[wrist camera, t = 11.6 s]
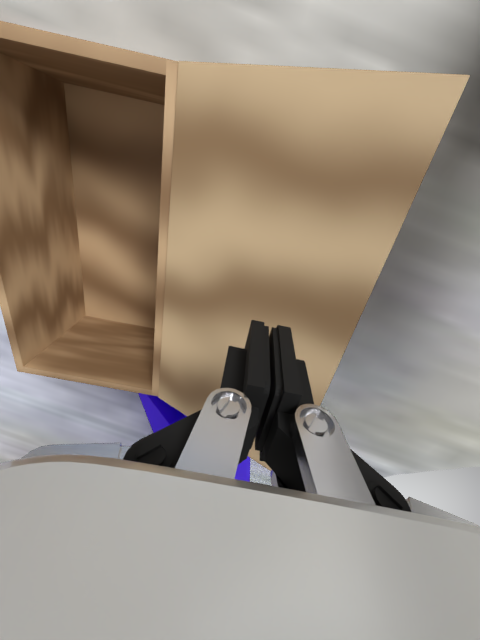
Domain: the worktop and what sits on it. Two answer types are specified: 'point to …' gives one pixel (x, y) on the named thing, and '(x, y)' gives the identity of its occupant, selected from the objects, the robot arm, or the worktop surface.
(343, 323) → the lid flap
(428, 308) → the worktop surface
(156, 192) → the open wooden box
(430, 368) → the worktop surface
